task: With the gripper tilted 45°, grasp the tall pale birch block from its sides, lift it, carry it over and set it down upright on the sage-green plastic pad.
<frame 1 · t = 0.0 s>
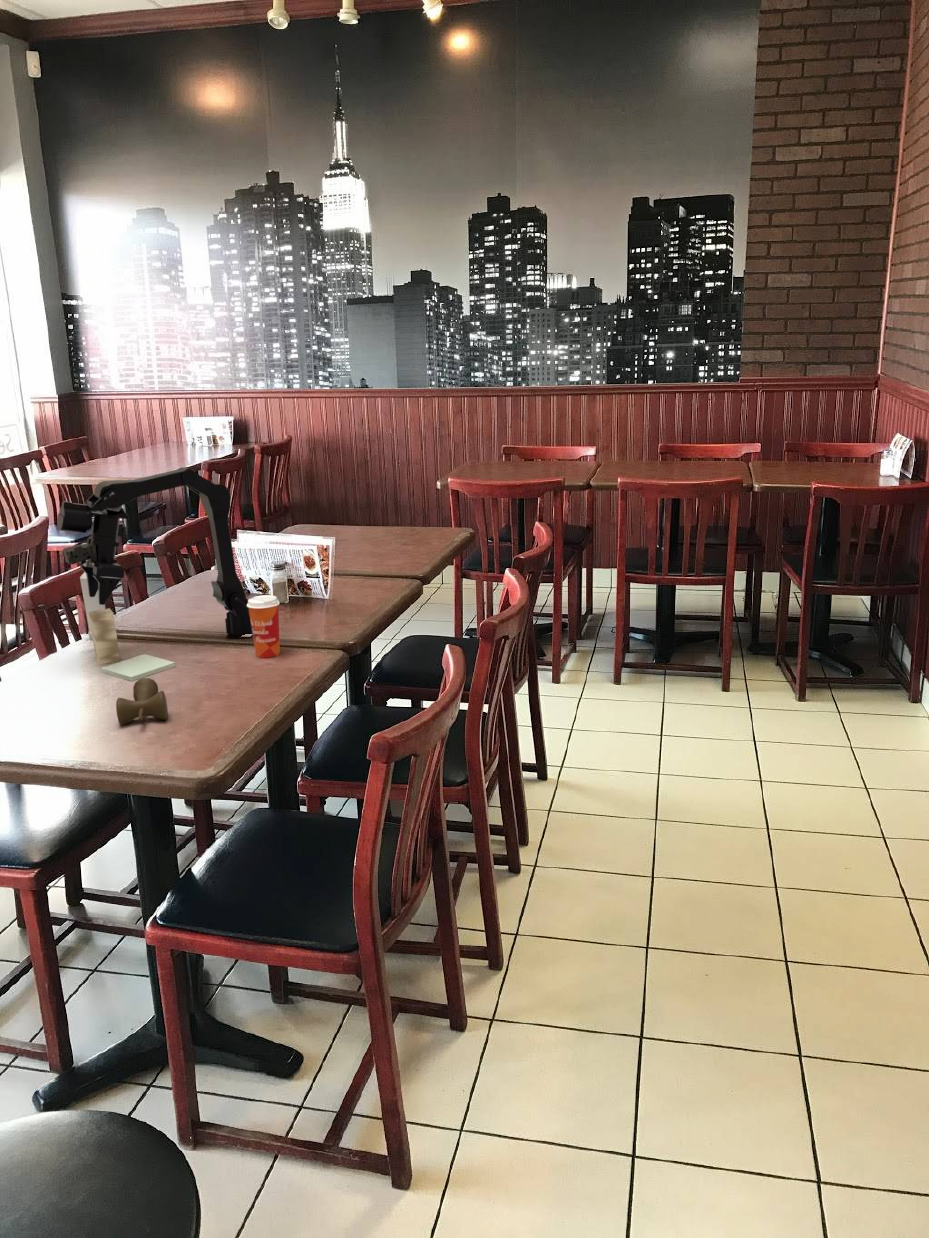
hand: (96, 600, 236), 15 cm above the table, tool pointing down, fingers open, 9 cm apart
paper cup: (268, 655, 242), on the table
sage pad: (138, 669, 235), on the table
kendama: (145, 716, 206), on the table
birch block: (107, 659, 243), on the table
bottle: (99, 638, 261), on the table
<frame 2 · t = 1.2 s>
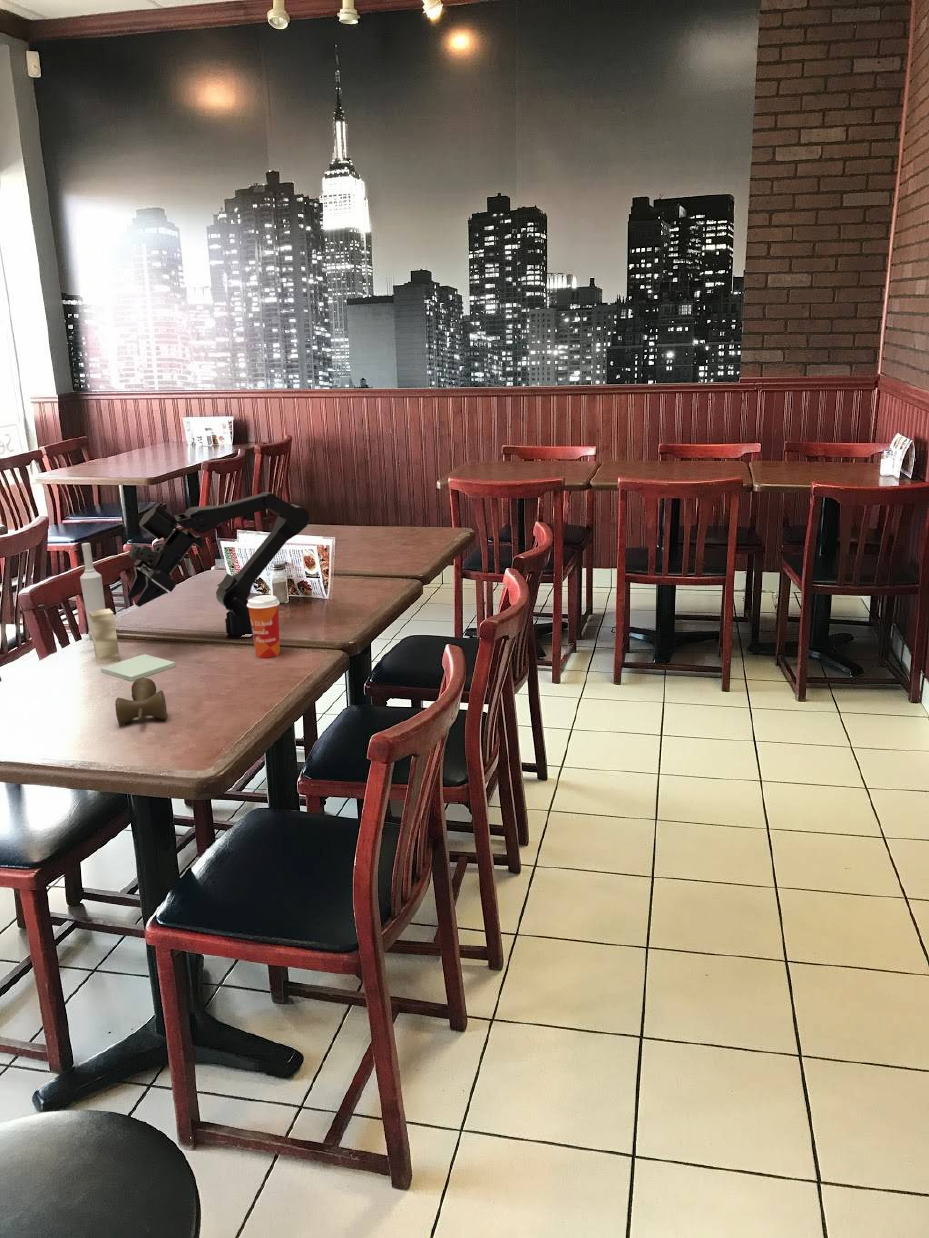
hand: (132, 601, 242), 13 cm above the table, tool tilted 45°, fingers open, 9 cm apart
nothing on the table moved.
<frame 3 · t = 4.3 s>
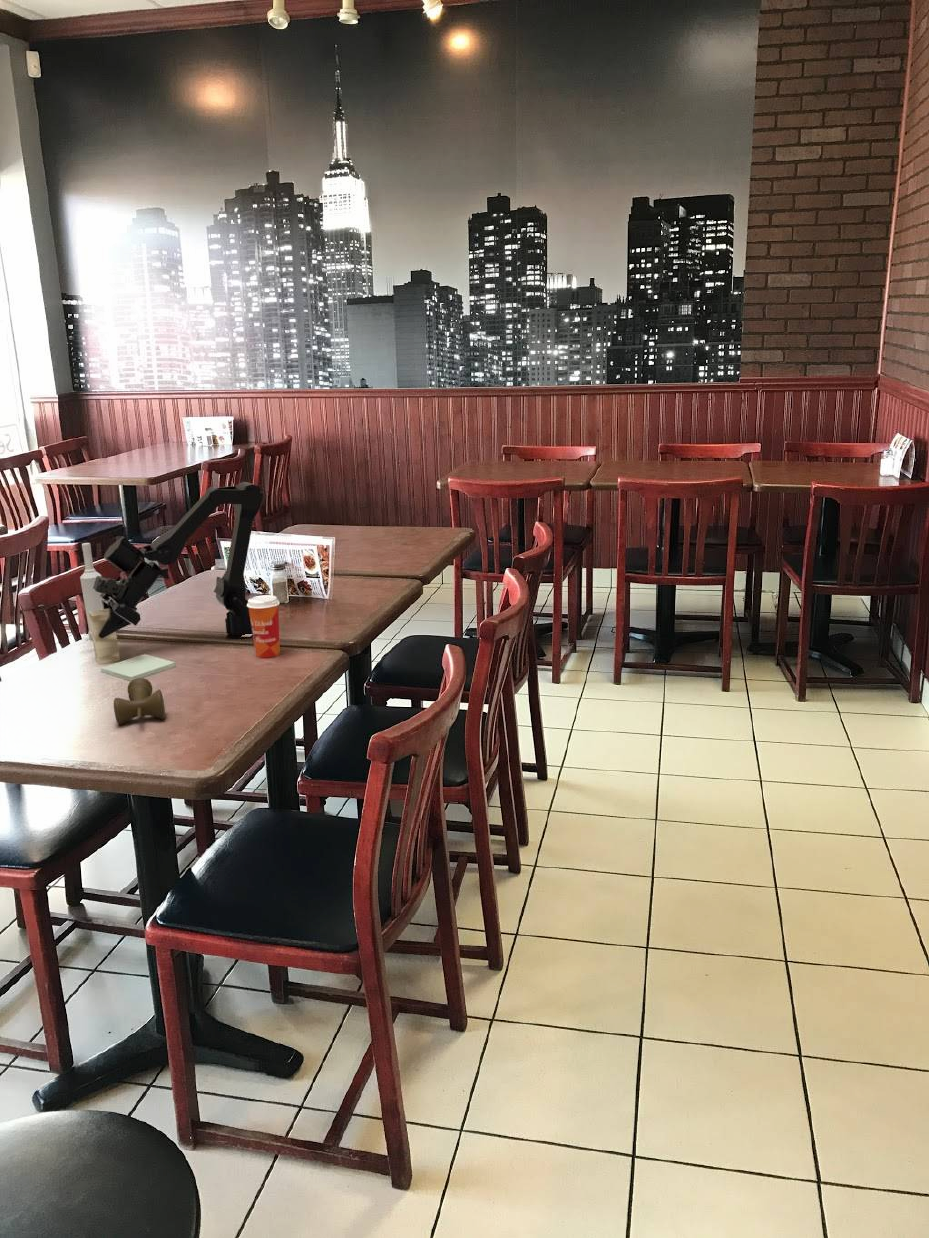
hand: (98, 634, 240), 7 cm above the table, tool tilted 45°, fingers closed on birch block, 5 cm apart
birch block: (107, 659, 243), on the table, touching gripper
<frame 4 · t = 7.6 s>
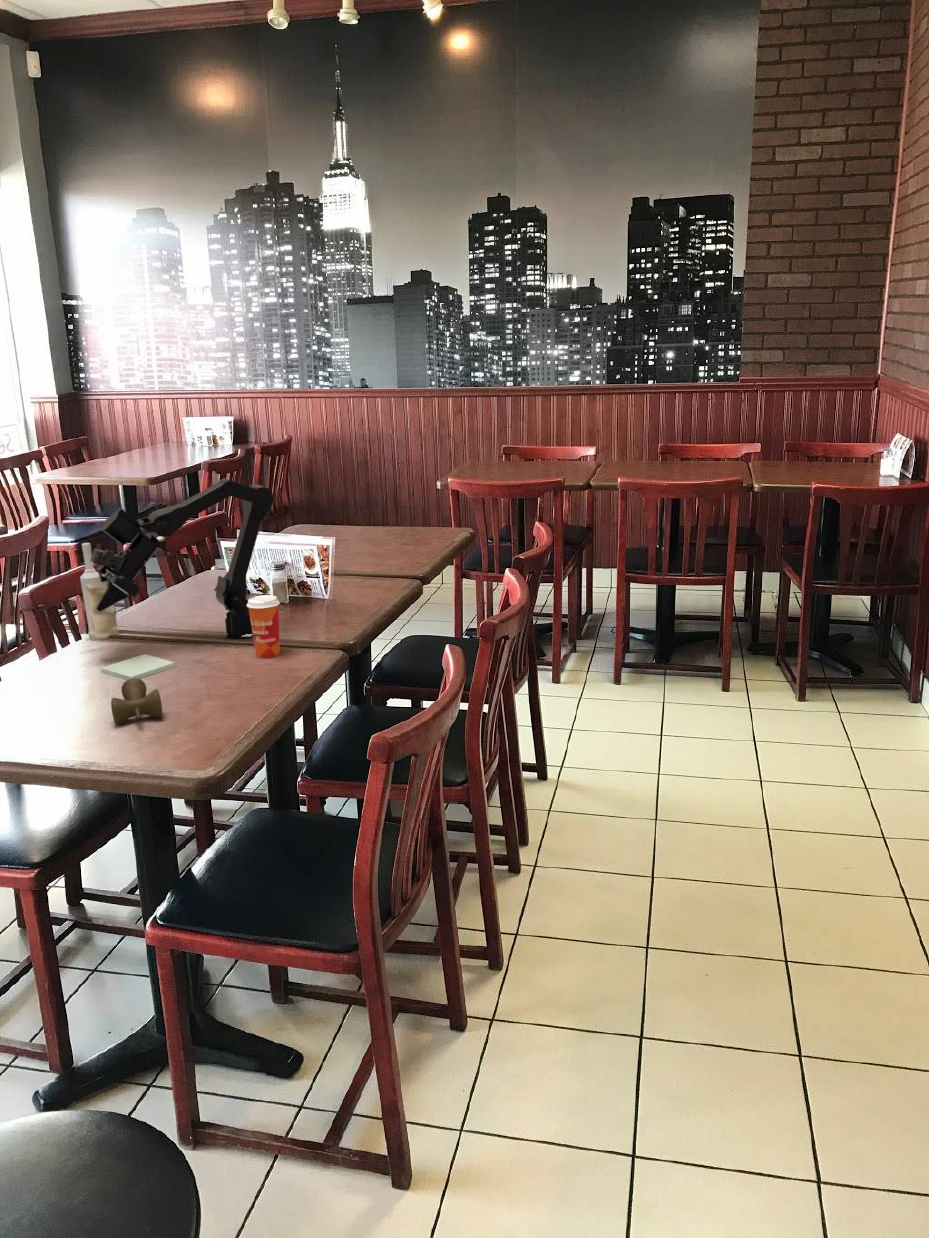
hand: (95, 607, 237), 13 cm above the table, tool tilted 45°, fingers closed on birch block, 5 cm apart
birch block: (105, 633, 240), point 7 cm above the table, touching gripper
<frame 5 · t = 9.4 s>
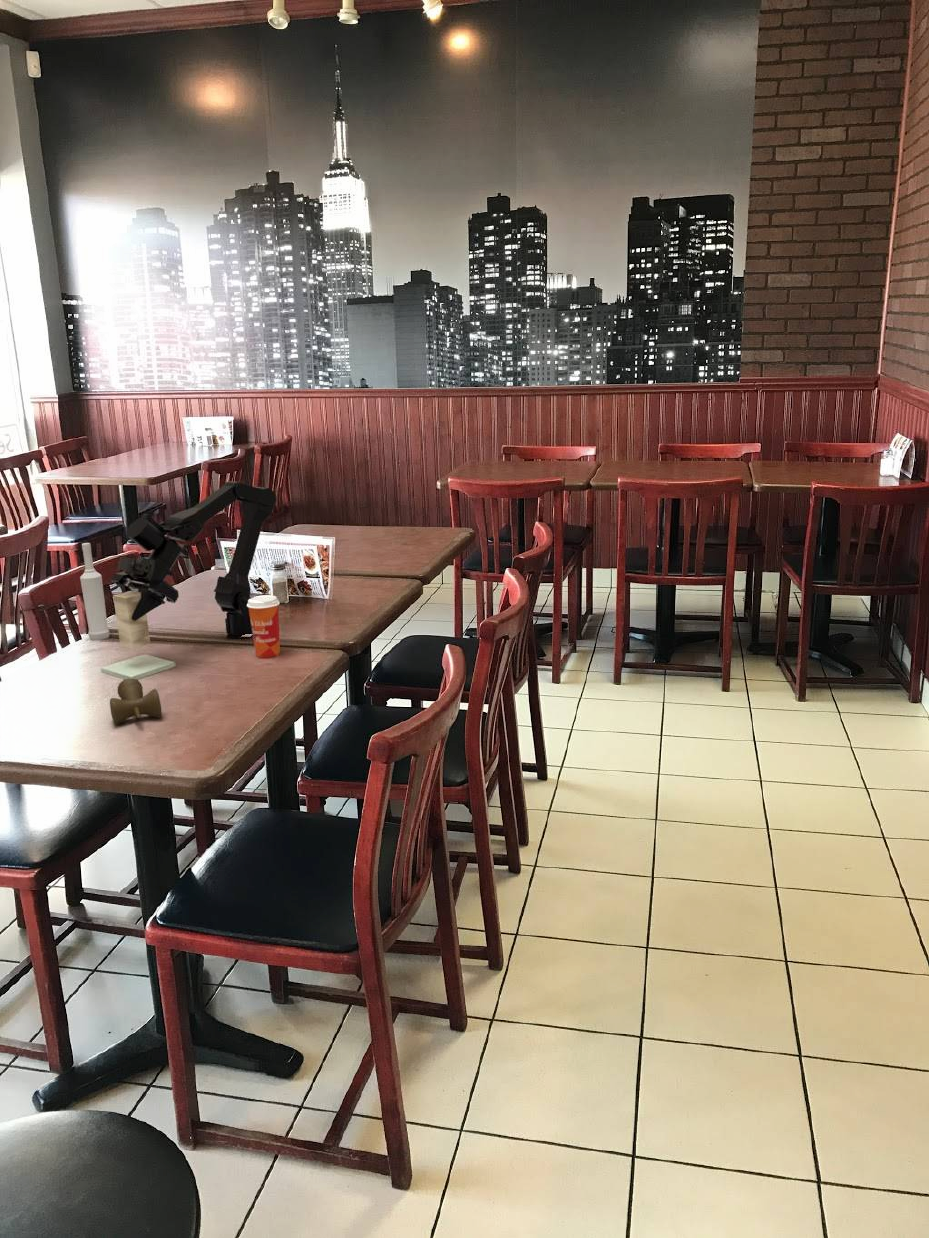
hand: (126, 618, 230), 13 cm above the table, tool tilted 45°, fingers closed on birch block, 5 cm apart
birch block: (135, 644, 233), point 6 cm above the table, touching gripper
when the fingers open (9 cm above the table, at t = 10.9 s): birch block drops 1 cm, resting on sage pad.
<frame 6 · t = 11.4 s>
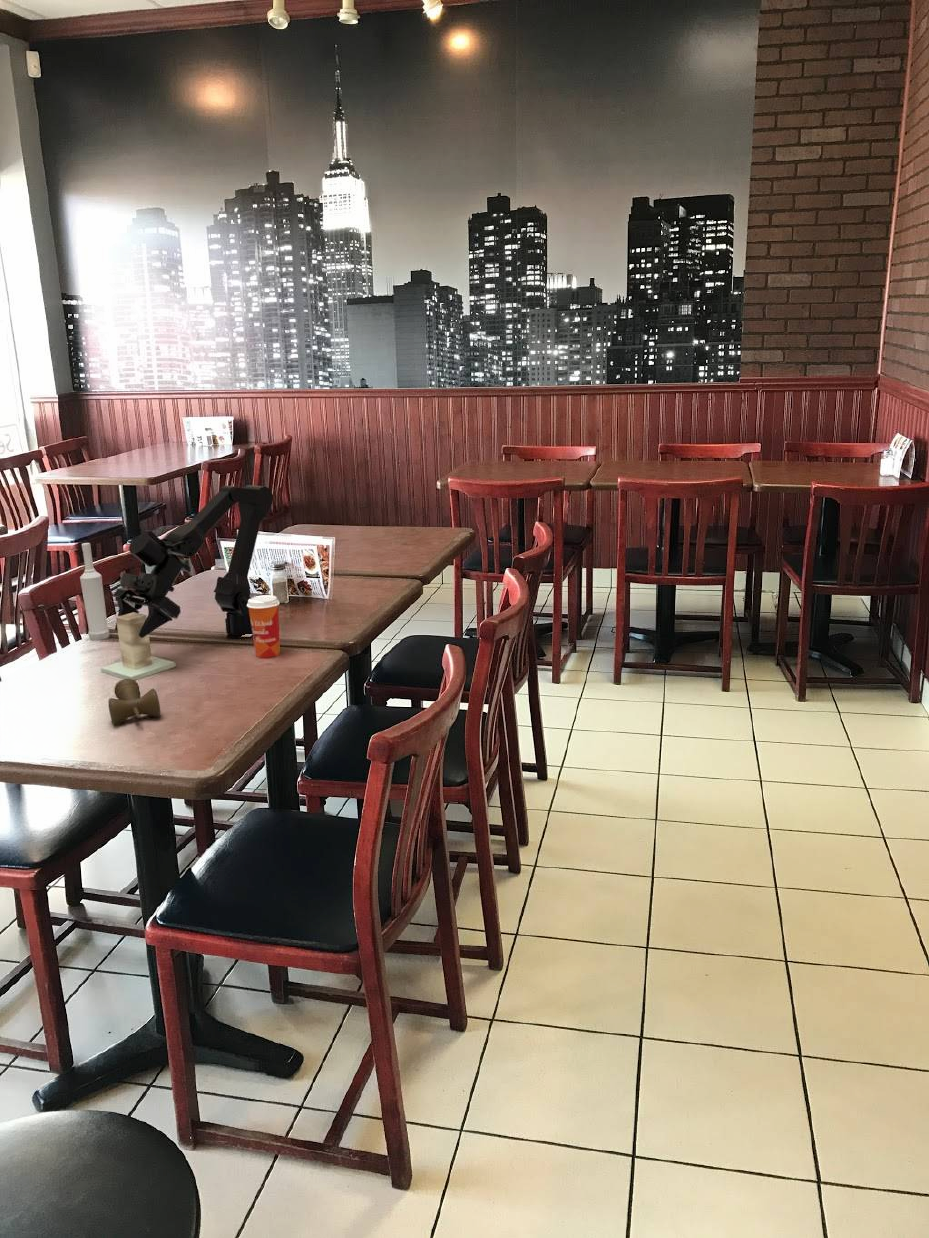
hand: (128, 633, 231), 9 cm above the table, tool tilted 45°, fingers open, 9 cm apart
birch block: (137, 665, 234), point 1 cm above the table, touching sage pad
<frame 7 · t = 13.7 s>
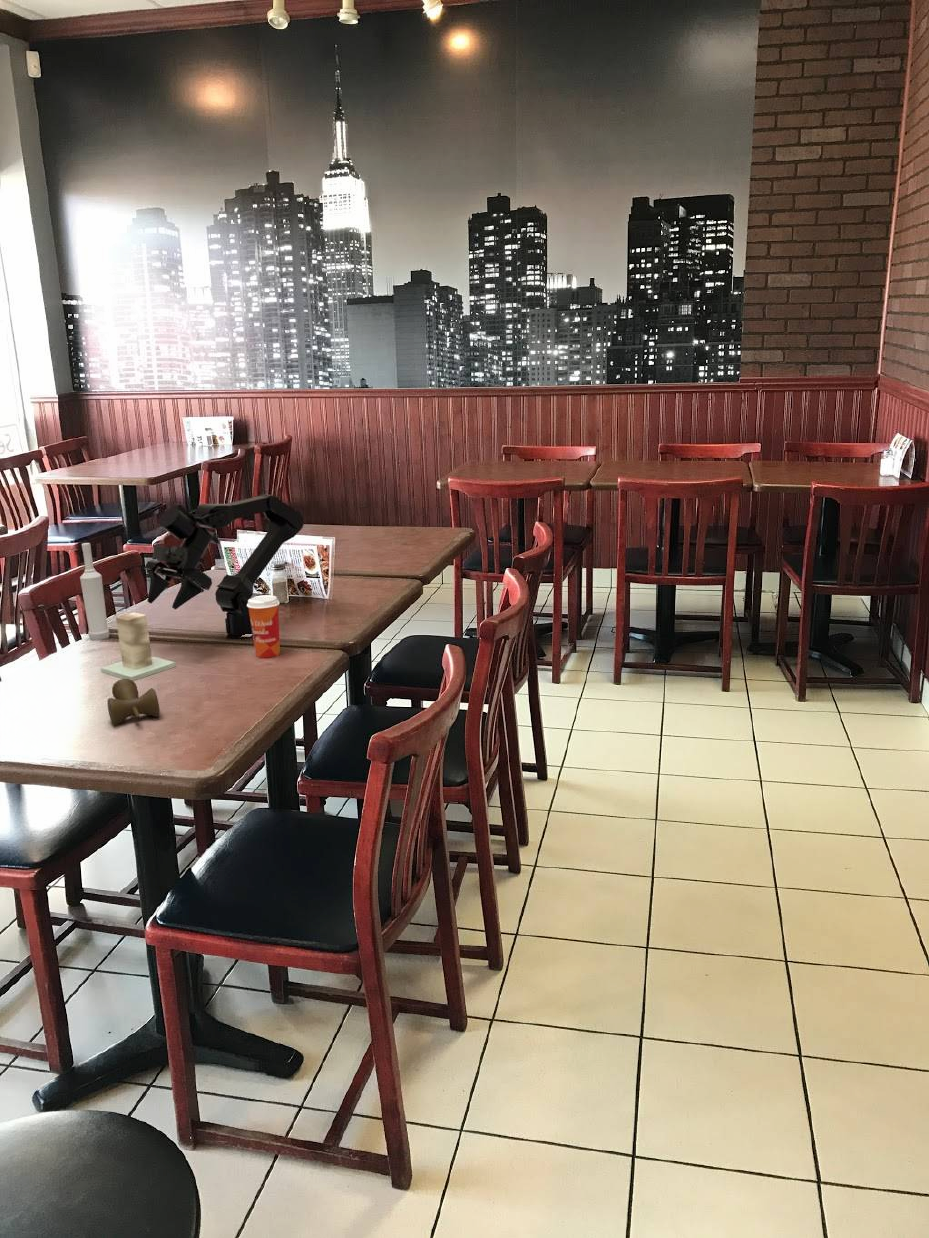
hand: (161, 605, 237), 13 cm above the table, tool tilted 45°, fingers open, 9 cm apart
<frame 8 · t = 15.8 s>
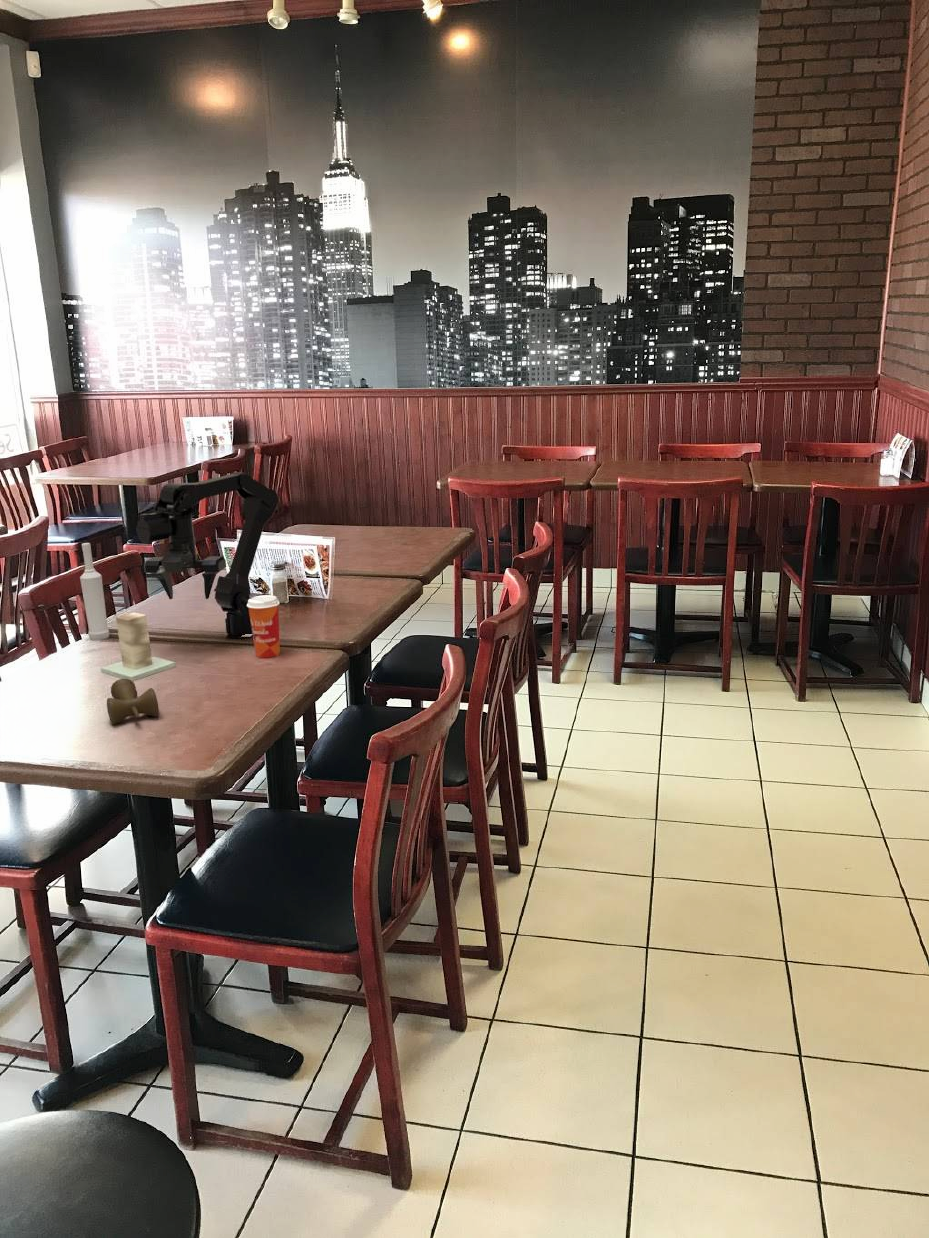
hand: (189, 598, 244), 13 cm above the table, tool pointing down, fingers open, 9 cm apart
at the end: birch block inside the target area on the sage pad (0.1 cm from its centre), point 1.0 cm above the sage pad's base; birch block tilted 0°; the gripper is holding nothing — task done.
